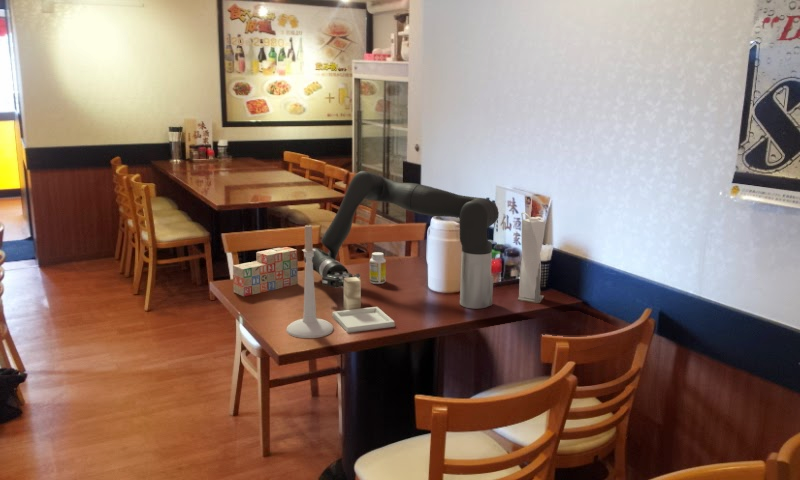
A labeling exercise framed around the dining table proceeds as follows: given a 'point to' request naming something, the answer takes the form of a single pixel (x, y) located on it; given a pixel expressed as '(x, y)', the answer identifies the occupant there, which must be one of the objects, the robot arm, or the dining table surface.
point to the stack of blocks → (266, 272)
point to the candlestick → (309, 300)
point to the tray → (363, 319)
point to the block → (352, 293)
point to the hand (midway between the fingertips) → (350, 287)
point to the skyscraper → (531, 259)
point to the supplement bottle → (377, 268)
